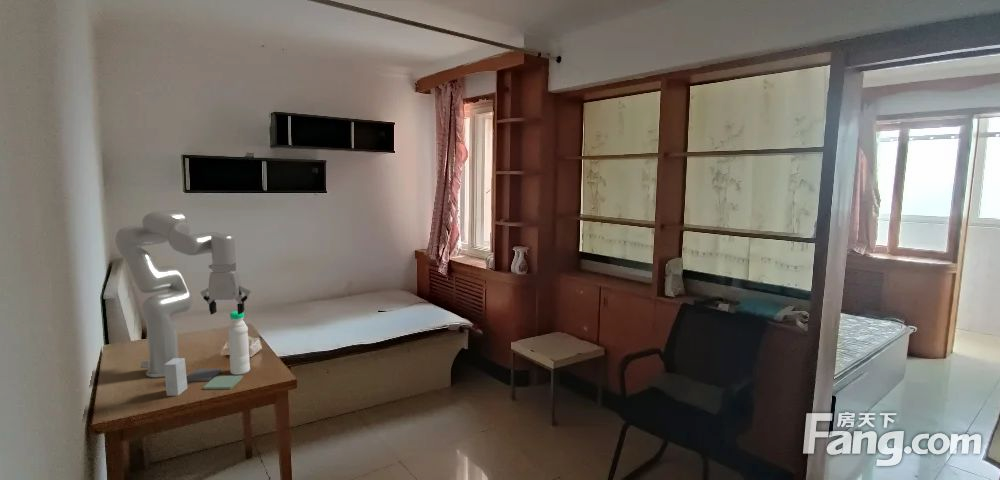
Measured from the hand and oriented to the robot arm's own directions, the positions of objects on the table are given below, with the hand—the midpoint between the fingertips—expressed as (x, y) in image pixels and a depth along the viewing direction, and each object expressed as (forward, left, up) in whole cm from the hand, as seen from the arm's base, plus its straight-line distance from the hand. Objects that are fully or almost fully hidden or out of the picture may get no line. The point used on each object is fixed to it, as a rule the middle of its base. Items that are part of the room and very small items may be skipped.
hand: (227, 313), depth 178 cm
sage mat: (-4, +2, -28) cm, 29 cm away
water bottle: (-2, +13, -28) cm, 31 cm away
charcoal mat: (-15, +9, -28) cm, 33 cm away
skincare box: (-17, -5, -28) cm, 34 cm away
